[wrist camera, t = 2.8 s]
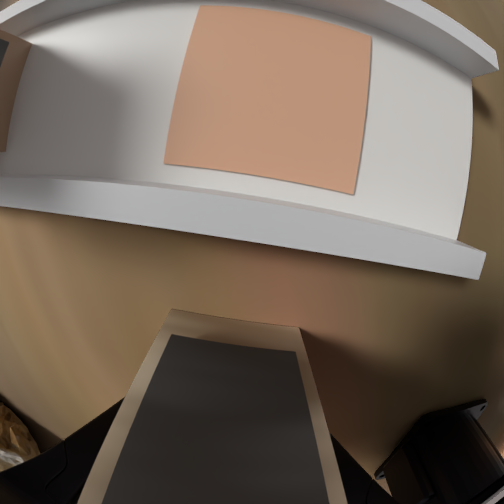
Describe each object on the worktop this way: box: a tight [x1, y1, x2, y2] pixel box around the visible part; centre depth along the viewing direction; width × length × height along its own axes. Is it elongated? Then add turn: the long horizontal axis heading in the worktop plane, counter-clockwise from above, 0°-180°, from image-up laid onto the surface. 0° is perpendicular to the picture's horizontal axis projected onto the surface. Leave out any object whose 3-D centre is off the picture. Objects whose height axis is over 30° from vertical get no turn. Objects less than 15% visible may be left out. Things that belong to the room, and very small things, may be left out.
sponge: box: [0, 403, 40, 472], centre depth 10 cm, size 13×8×20 cm
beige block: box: [77, 309, 347, 504], centre depth 6 cm, size 4×5×7 cm
